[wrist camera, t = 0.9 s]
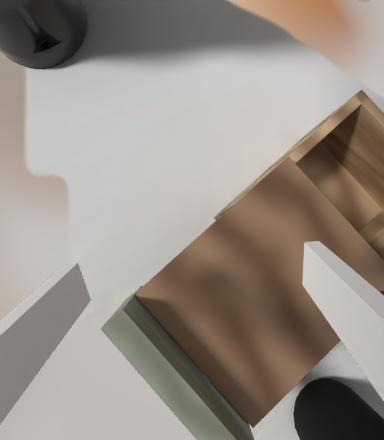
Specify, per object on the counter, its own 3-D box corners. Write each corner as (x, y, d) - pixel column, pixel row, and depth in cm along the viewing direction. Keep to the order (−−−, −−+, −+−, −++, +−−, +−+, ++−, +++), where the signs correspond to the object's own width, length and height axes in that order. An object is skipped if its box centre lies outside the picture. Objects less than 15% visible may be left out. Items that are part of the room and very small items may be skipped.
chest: (290, 302, 34) (334, 332, 24) (213, 217, 34) (226, 211, 24) (385, 210, 35) (465, 202, 25) (311, 129, 35) (361, 89, 25)
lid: (225, 412, 26) (243, 493, 18) (126, 299, 26) (100, 328, 18) (367, 272, 27) (443, 289, 19) (272, 167, 28) (308, 141, 20)
